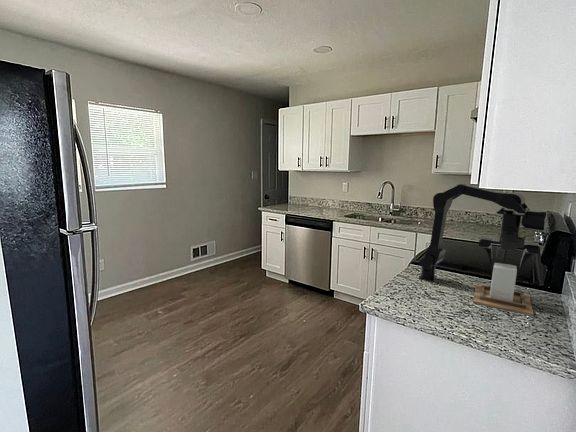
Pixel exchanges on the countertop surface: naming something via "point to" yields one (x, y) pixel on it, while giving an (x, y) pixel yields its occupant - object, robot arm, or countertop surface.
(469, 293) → the countertop surface
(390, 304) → the countertop surface
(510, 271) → the supplement box
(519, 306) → the wooden tray
